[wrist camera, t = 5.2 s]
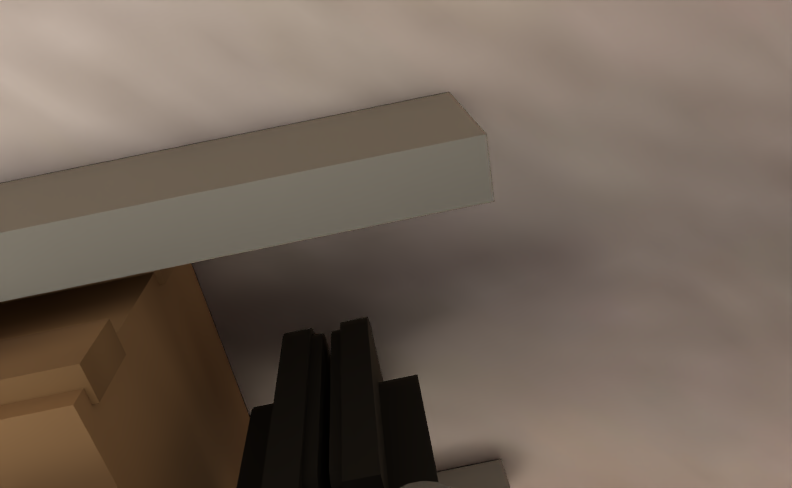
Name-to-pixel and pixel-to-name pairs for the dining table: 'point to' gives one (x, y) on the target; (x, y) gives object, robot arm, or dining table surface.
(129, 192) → the frame
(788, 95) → the dining table surface
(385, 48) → the dining table surface
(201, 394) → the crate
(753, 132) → the dining table surface
